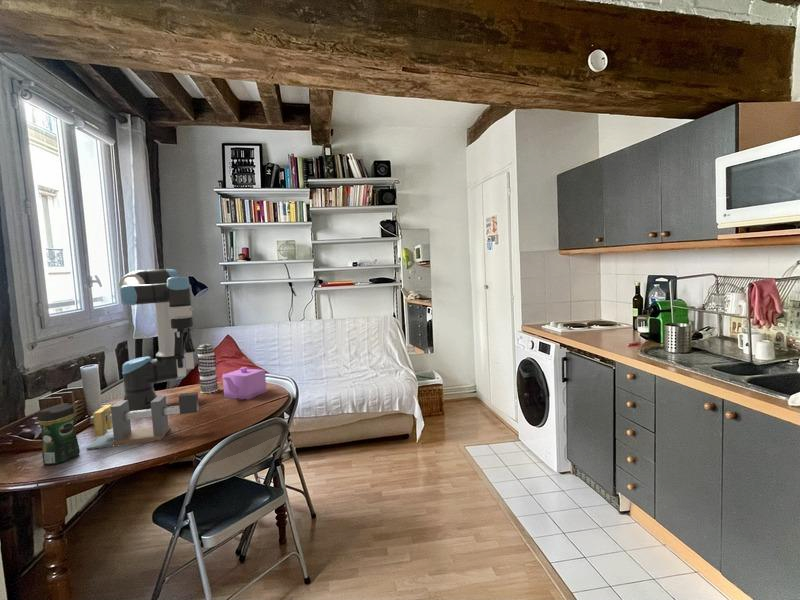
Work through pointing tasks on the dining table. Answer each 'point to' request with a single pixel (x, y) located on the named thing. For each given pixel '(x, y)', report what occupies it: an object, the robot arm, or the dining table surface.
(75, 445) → the coffee jar
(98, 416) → the spacer
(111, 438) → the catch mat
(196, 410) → the shaft
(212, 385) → the decorative candle
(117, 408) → the bracket
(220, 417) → the dining table surface
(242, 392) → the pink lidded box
